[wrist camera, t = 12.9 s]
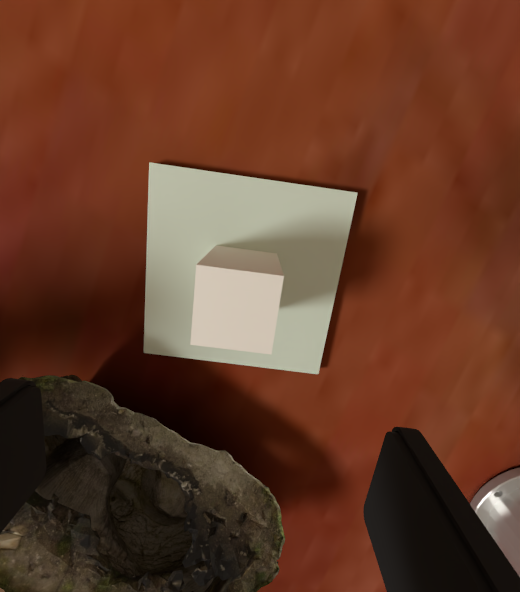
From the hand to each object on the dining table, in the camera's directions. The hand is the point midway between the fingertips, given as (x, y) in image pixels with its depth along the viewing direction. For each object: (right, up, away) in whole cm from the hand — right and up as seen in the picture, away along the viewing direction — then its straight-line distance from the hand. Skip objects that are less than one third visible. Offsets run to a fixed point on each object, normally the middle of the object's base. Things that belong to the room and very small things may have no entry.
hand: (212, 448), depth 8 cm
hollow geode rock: (-9, -10, +24) cm, 28 cm away
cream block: (0, +6, +18) cm, 18 cm away
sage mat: (0, +6, +18) cm, 19 cm away
